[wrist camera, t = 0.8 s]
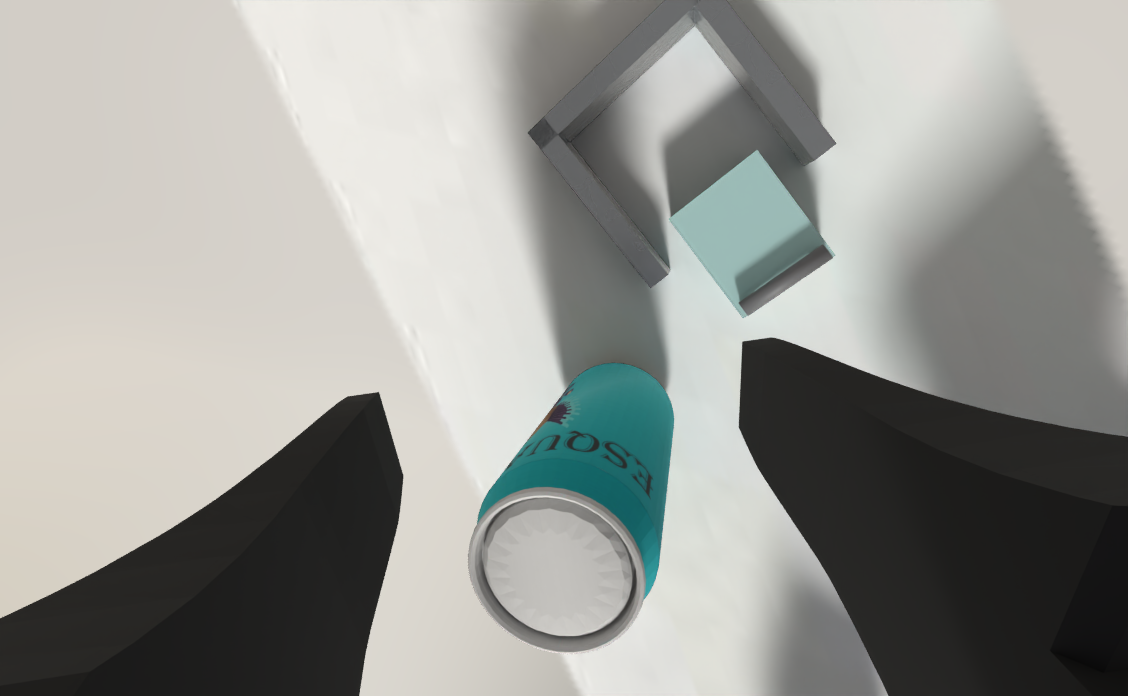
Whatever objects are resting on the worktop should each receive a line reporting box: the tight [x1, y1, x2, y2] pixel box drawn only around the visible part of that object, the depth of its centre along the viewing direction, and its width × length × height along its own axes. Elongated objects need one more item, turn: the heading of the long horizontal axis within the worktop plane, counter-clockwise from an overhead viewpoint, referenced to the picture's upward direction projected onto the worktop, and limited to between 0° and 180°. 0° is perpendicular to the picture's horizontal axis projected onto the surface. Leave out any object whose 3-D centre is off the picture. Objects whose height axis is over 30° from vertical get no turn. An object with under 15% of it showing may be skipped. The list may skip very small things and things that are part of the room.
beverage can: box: [468, 363, 674, 654], centre depth 23 cm, size 6×6×15 cm
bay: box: [528, 0, 836, 288], centre depth 25 cm, size 9×10×2 cm
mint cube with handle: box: [669, 150, 835, 318], centre depth 25 cm, size 6×4×4 cm
